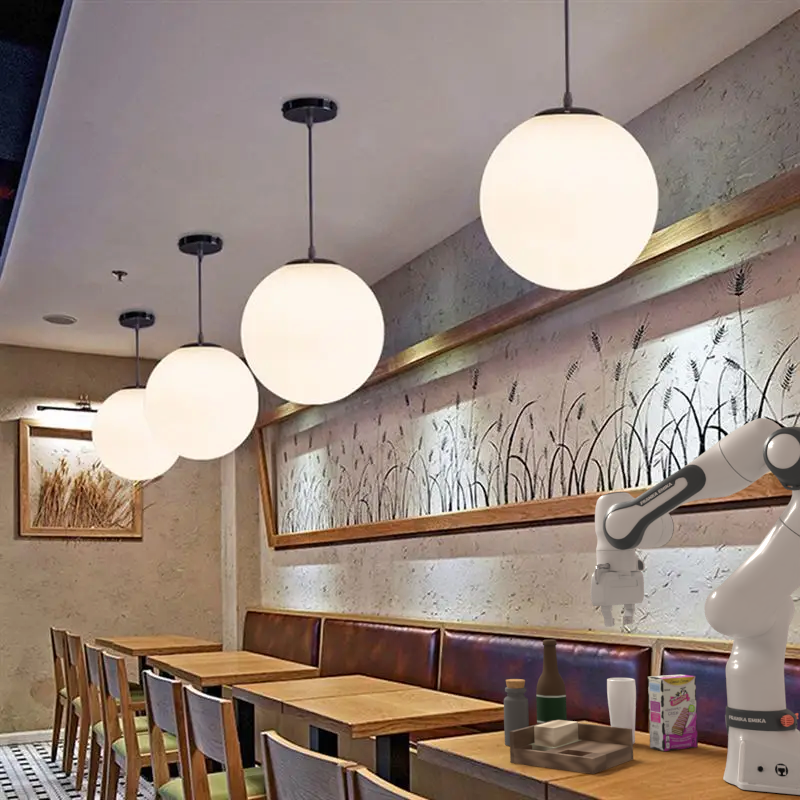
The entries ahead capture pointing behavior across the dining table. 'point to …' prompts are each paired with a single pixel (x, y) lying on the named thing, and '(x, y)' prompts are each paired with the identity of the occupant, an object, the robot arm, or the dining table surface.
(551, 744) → the cream rectangular block
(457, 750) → the dining table surface
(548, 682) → the beer bottle
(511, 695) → the bottle
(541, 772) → the dining table surface
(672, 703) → the candy bar box
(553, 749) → the brown compartment tray
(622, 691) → the drinking glass
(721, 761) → the dining table surface
